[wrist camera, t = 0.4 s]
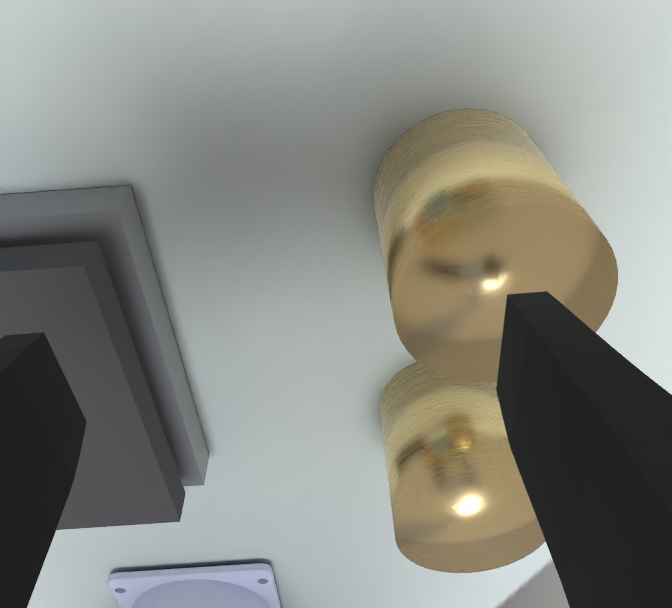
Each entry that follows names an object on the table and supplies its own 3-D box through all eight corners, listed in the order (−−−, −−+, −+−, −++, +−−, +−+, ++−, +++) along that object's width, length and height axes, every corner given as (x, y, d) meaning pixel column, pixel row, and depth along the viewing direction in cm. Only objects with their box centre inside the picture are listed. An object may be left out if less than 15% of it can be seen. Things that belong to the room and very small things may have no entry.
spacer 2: (502, 440, 25) (542, 567, 21) (380, 449, 25) (395, 577, 21) (516, 349, 22) (567, 475, 18) (377, 359, 22) (394, 487, 18)
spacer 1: (530, 257, 20) (593, 375, 15) (375, 267, 20) (394, 389, 15) (554, 101, 17) (642, 194, 12) (371, 115, 17) (392, 212, 12)
